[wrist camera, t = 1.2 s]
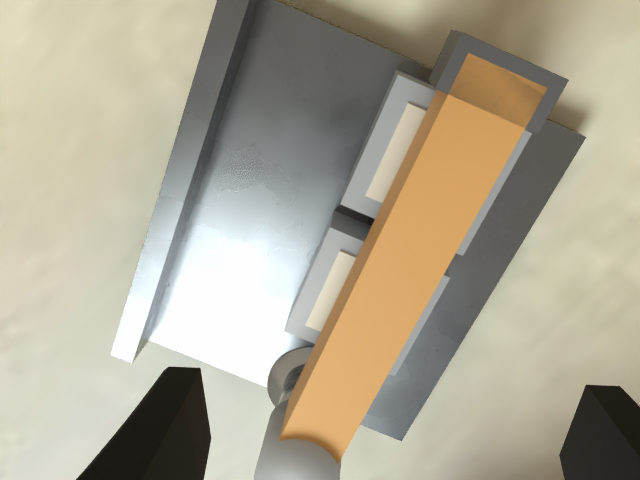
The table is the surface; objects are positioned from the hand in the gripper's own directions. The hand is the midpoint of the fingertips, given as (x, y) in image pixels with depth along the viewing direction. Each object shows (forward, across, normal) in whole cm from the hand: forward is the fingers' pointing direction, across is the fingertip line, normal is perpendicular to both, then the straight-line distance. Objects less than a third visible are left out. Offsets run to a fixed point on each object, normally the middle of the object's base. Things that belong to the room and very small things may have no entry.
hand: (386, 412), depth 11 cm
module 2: (+12, 0, +6) cm, 13 cm away
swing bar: (+9, 0, +4) cm, 10 cm away
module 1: (+13, -2, 0) cm, 13 cm away
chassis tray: (+13, +1, +4) cm, 14 cm away
